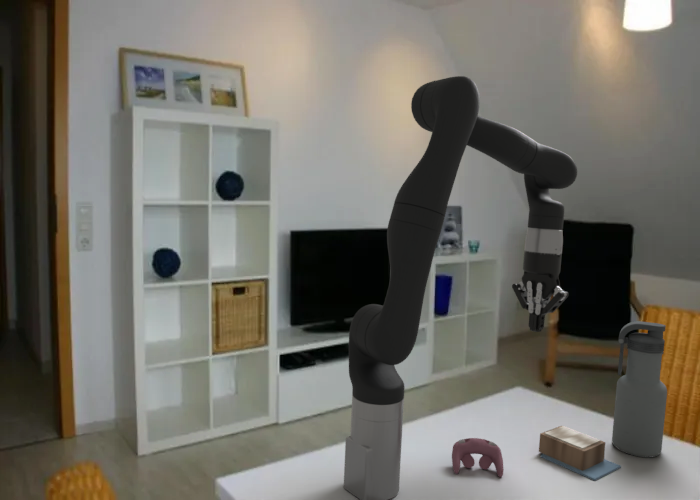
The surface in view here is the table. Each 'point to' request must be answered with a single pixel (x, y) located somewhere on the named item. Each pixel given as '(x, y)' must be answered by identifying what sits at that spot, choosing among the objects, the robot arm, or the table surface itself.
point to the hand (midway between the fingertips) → (535, 331)
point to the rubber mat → (592, 472)
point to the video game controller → (477, 446)
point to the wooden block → (572, 447)
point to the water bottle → (640, 392)
